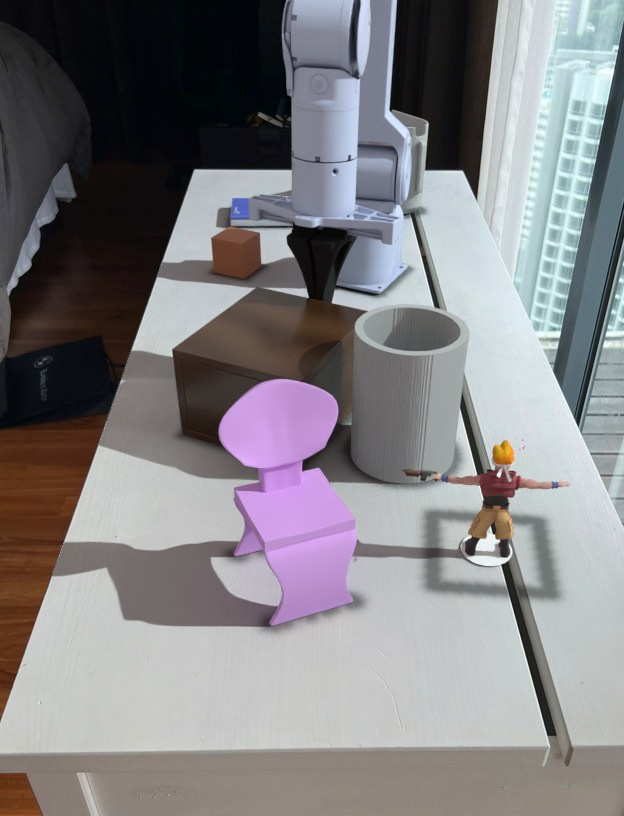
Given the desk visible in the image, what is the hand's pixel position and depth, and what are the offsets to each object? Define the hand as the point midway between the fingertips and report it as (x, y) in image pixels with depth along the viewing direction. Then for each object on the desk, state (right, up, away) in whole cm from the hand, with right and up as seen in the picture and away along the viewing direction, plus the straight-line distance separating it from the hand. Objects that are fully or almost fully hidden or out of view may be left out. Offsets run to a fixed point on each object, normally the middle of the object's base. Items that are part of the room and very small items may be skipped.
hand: (321, 305), depth 81 cm
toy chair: (-2, -26, -19) cm, 32 cm away
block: (-11, +11, +25) cm, 29 cm away
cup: (+7, -15, -6) cm, 18 cm away
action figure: (+12, -24, -17) cm, 31 cm away
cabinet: (-4, -11, -2) cm, 12 cm away
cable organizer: (+9, +28, +45) cm, 53 cm away
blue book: (-8, +24, +40) cm, 47 cm away
